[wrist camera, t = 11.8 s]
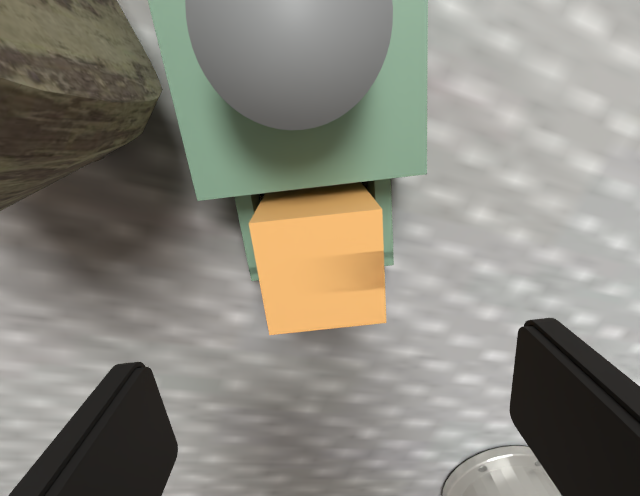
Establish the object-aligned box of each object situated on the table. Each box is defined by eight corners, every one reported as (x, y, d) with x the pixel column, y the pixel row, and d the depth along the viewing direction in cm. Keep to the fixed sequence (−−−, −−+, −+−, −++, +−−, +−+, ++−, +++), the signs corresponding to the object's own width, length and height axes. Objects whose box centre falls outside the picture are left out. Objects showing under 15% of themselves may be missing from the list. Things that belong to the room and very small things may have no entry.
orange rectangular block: (355, 175, 23) (382, 208, 15) (360, 255, 26) (386, 322, 17) (269, 185, 24) (248, 223, 15) (282, 263, 26) (269, 335, 17)
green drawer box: (393, -17, 19) (472, -139, 10) (400, 246, 25) (453, 322, 16) (187, 8, 20) (78, -90, 10) (242, 264, 26) (204, 350, 16)
